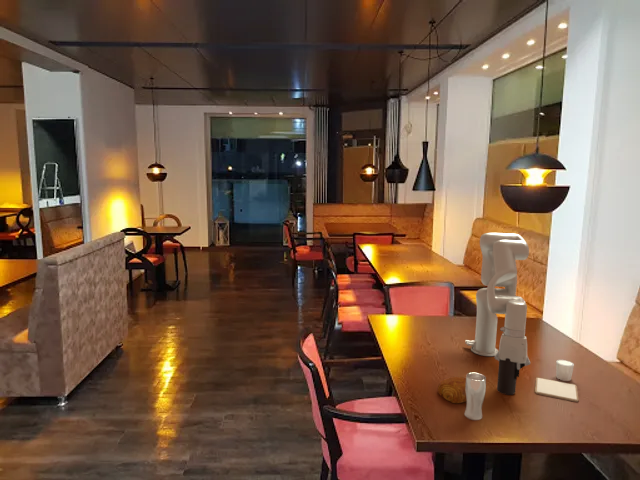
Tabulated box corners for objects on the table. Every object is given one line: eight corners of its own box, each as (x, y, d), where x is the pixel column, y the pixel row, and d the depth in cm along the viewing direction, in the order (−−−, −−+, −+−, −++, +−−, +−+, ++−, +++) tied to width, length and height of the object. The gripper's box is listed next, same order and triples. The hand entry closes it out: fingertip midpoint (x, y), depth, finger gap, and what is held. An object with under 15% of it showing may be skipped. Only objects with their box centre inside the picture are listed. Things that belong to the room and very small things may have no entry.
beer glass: (460, 411, 172) (462, 372, 170) (478, 410, 173) (481, 372, 170) (467, 421, 165) (470, 380, 163) (486, 420, 166) (490, 380, 164)
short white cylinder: (571, 376, 204) (572, 360, 203) (573, 382, 197) (575, 367, 196) (553, 373, 206) (555, 358, 205) (555, 380, 200) (557, 364, 198)
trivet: (534, 393, 187) (535, 391, 187) (535, 378, 200) (536, 376, 200) (578, 402, 180) (578, 400, 180) (576, 386, 194) (576, 384, 194)
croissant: (483, 403, 183) (487, 383, 182) (456, 408, 174) (460, 387, 174) (455, 387, 195) (458, 369, 194) (428, 391, 186) (432, 372, 186)
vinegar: (504, 396, 184) (507, 347, 181) (493, 388, 191) (496, 341, 188) (518, 394, 186) (522, 345, 183) (507, 386, 192) (511, 339, 190)
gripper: (491, 331, 184) (488, 376, 186) (537, 338, 177) (533, 385, 179) (493, 326, 191) (490, 369, 193) (537, 332, 184) (533, 377, 186)
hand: (510, 376), depth 186 cm, fingers closed on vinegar, 3 cm apart
